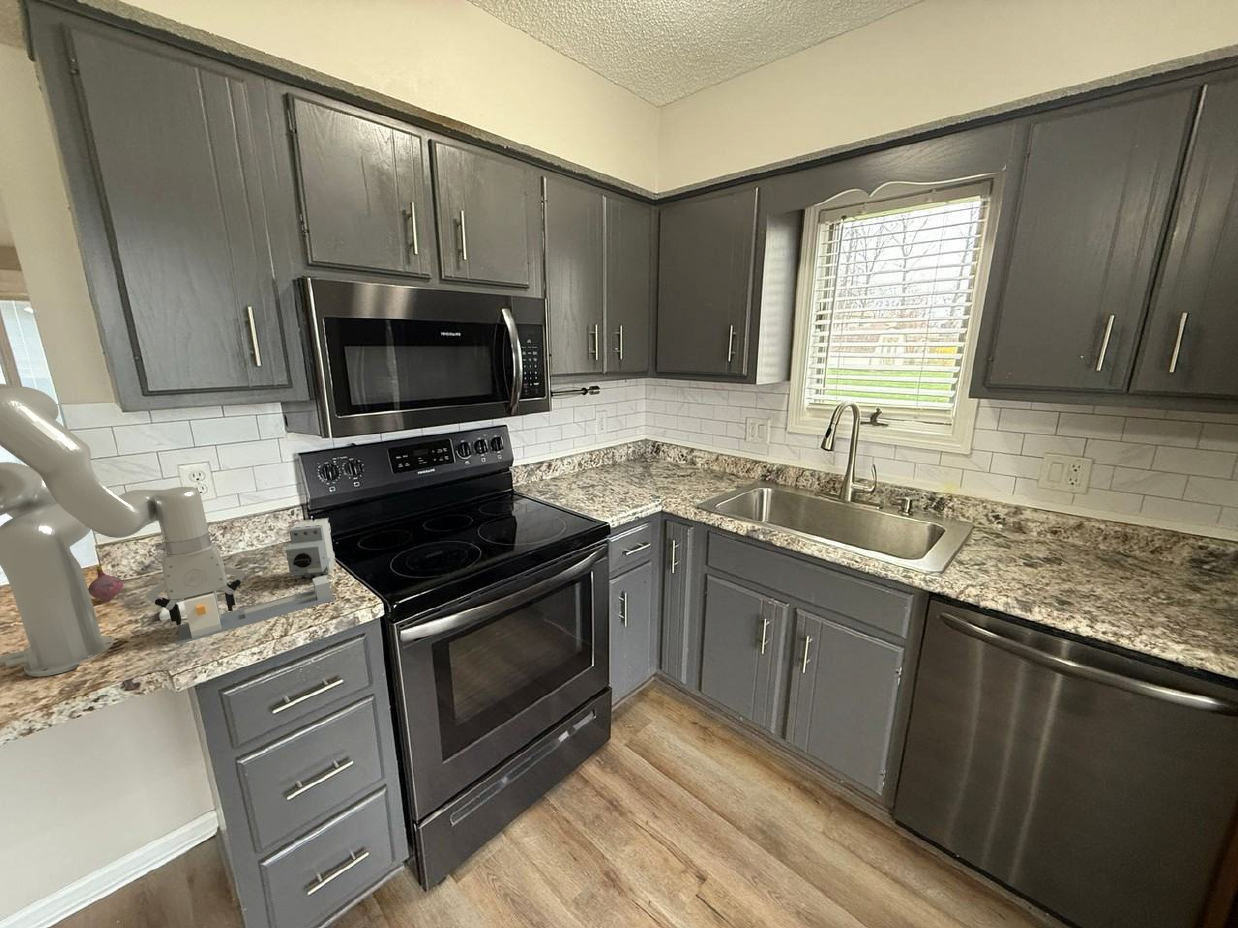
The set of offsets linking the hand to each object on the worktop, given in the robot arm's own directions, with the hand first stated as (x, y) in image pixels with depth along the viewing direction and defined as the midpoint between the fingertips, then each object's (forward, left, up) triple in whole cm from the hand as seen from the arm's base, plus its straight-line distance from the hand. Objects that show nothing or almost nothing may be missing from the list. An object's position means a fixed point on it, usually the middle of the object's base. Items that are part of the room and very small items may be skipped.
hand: (205, 615), depth 111 cm
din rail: (+14, 0, -3) cm, 15 cm away
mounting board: (+10, 0, -4) cm, 11 cm away
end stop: (+23, 0, -3) cm, 23 cm away
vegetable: (-20, +35, -4) cm, 41 cm away
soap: (-4, +13, -4) cm, 14 cm away
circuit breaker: (+23, +15, -4) cm, 28 cm away
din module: (0, 0, -3) cm, 3 cm away
